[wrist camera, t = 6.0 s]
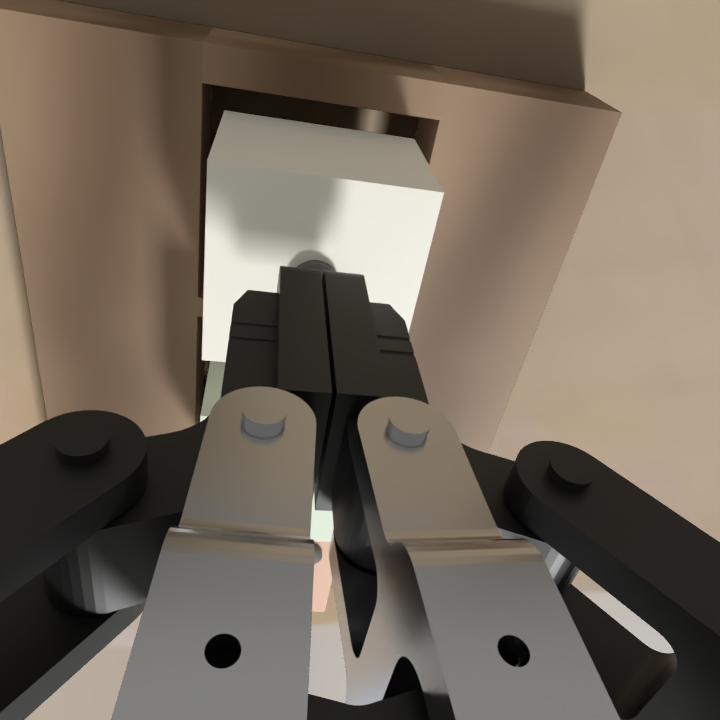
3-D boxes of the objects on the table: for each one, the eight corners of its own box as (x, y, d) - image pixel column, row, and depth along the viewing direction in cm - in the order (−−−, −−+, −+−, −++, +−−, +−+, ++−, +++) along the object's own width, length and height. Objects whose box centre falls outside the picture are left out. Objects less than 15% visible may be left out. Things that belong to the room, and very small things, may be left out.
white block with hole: (414, 138, 15) (446, 196, 12) (380, 299, 17) (399, 381, 14) (224, 110, 14) (205, 164, 11) (217, 283, 16) (200, 366, 13)
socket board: (586, 91, 16) (621, 112, 15) (424, 546, 27) (434, 590, 25) (20, -6, 14) (-20, 5, 12) (88, 534, 25) (73, 582, 23)
